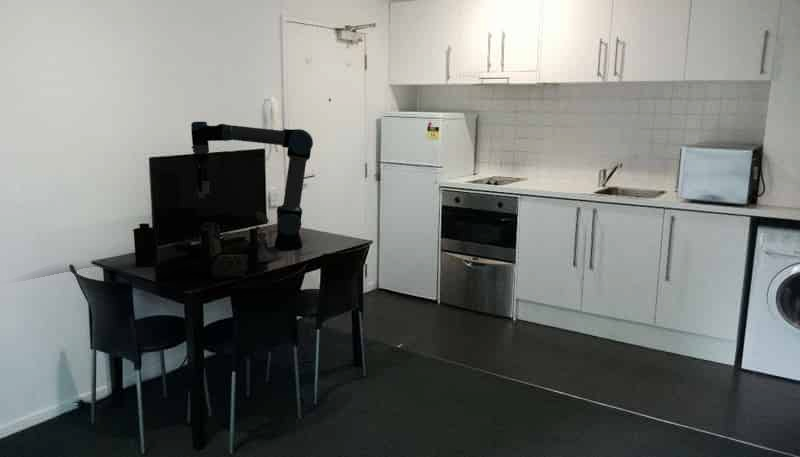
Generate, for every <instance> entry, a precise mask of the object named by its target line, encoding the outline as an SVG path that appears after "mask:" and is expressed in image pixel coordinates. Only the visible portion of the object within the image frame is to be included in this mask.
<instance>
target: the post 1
mask: <svg viewBox="0 0 800 457" xmlns="http://www.w3.org/2000/svg"><path fill="white" fill-rule="evenodd" d="M201 245H202V253H201V261H202V263H201V266H202V273H210V272H212V269H211V267H212V265H211V256H210V242H209V229H201V234H200V246H201Z"/></svg>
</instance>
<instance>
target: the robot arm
mask: <svg viewBox="0 0 800 457" xmlns="http://www.w3.org/2000/svg"><path fill="white" fill-rule="evenodd" d="M190 130H191V141H192V146H191V149H192V153H193V162H195V163H197V164H196V183H195V185H196V186H197V194H198V199H204V198H205V195H207V194H210V182H209V181H211V178H210V175H209V168H208V162H209V161H210V147H209V146H210V145H209V142H219V141H220V142H223V141H225V142H229V141H240V142H248V143H249V142H250V143H259V144H264V145H266V144H267V145H268V144H269V145H276V146H281V147H282V148H286V149H287V151H286V156H288V159H289V160H288V168H287V174H286V175H287V176H286V183H285V190H284V197H283V203H282V205H278V206H277V207H276V226H277V227H276V230H277V234H276V238H275V241H274V244H273V245H274V249H276V250H280V251H294V250H300V249H302V248H303V241H302V237H301V235H300V230H301V228H302V215H303V209H302V207H301V203H302V202H301V201H302V194H303V187H304V180H305V174H306V173H305V172H306V166H307V161H308V160H310V159H311V151H312V149H313V144H314V140H313V136H311V133H309V131H306V130H305V129H301V128H296V129H287V128H284V129H282V130H281V129H280V130H278V129H269V128H263V127H262V128H259V127H250V126H249V127H248V126H242V125H233V124H226V123H219V124H217V125H208V122H206V121H193V122H191V128H190Z"/></svg>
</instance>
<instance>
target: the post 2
mask: <svg viewBox="0 0 800 457" xmlns="http://www.w3.org/2000/svg"><path fill="white" fill-rule="evenodd" d="M258 231H259V230H258V229H256V227H255V228H249V248H250V250H249V251H250V271H251V272H259V271H260V270H259V268H260V267H259V262H258V250H259V240H258V239H259V237H258V234H259V232H258Z"/></svg>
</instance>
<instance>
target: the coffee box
mask: <svg viewBox="0 0 800 457" xmlns="http://www.w3.org/2000/svg"><path fill="white" fill-rule="evenodd" d="M220 227H221V226H220V222H214V221H208V222H205V223H203V224H201V225H199V230H200V232H199V233H200V235H201V229H209V242H210V257H215V256H216V255H219V254H220V253H222V251H221V250H222V249H221V246H222V245H221V230H220ZM200 246H201V247H200V248H201V249H200V250H201V254H202V245H201V244H200Z"/></svg>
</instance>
